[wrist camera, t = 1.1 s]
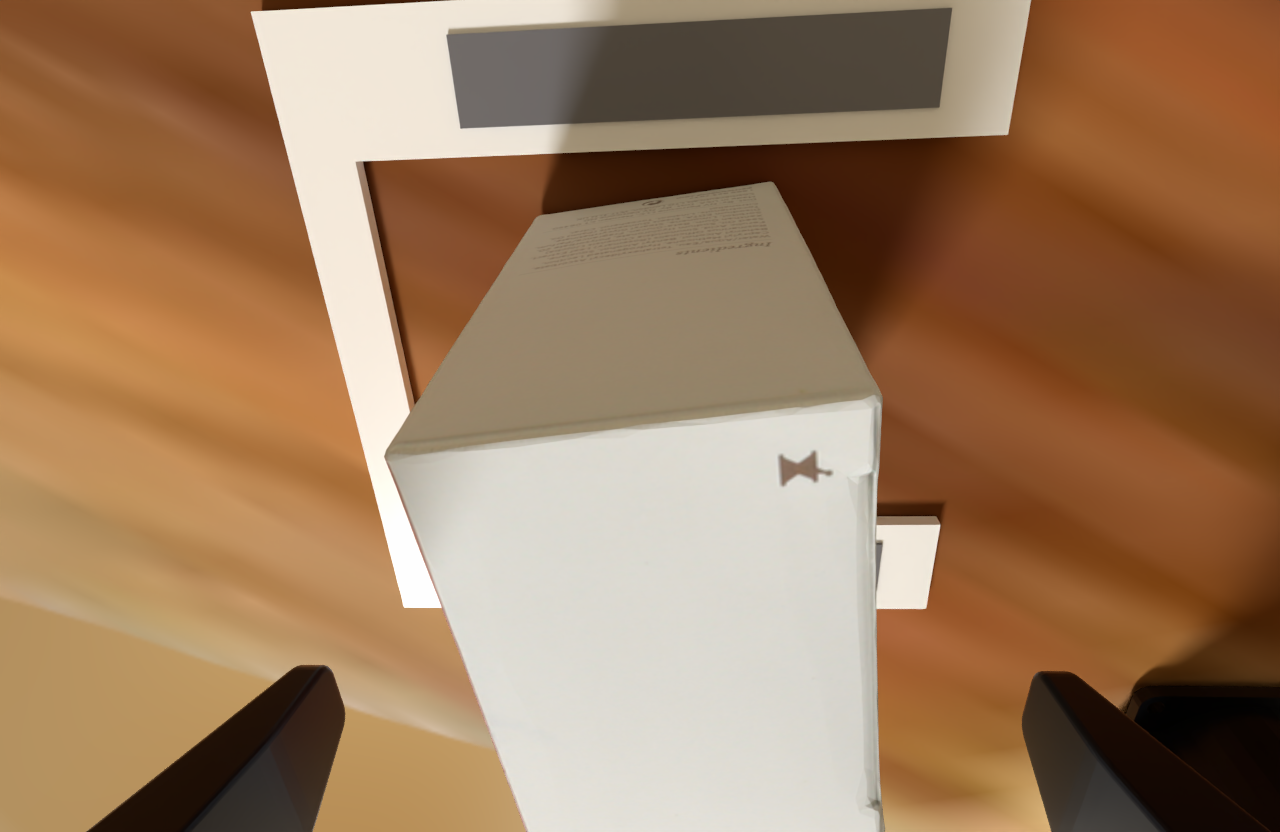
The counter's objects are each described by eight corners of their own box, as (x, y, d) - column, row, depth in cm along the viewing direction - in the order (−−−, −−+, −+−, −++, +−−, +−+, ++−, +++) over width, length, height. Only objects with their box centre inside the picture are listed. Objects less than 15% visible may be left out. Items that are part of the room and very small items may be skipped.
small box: (534, 210, 17) (362, 438, 8) (779, 174, 17) (891, 379, 8) (596, 495, 21) (526, 874, 12) (798, 476, 20) (890, 861, 11)
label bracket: (1028, -32, 15) (1038, -33, 14) (922, 599, 22) (926, 611, 22) (260, 11, 16) (248, 11, 15) (408, 598, 23) (403, 609, 23)
